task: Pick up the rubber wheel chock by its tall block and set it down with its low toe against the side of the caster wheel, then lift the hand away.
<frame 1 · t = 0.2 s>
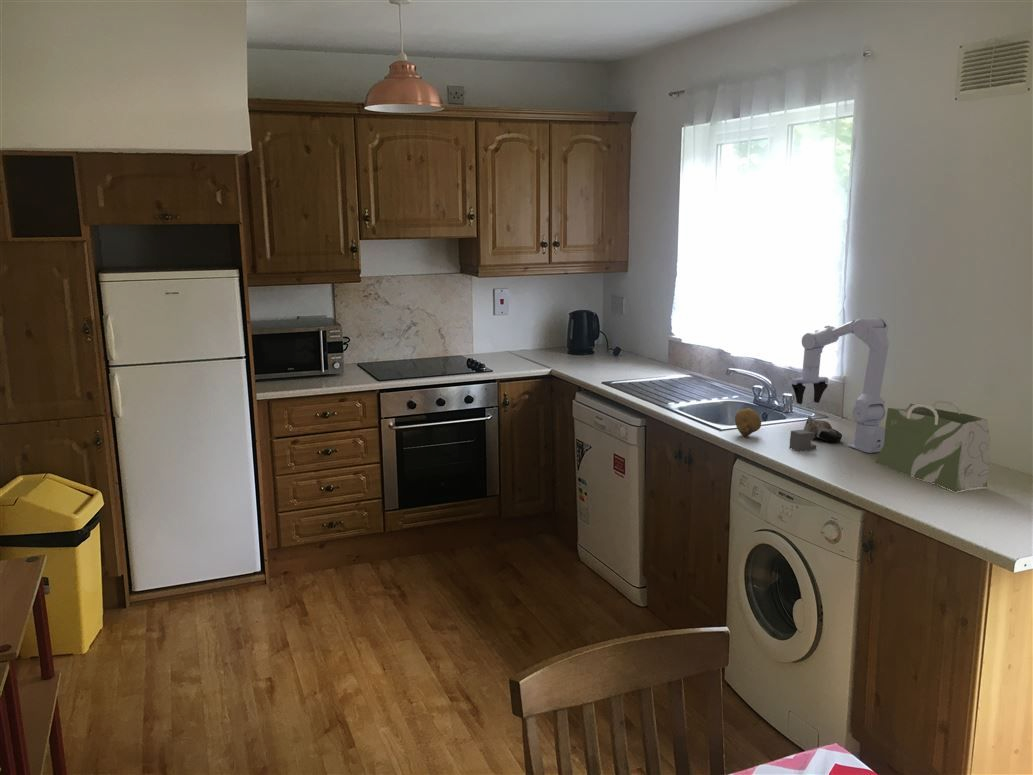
hand: (807, 402, 316), 10 cm above the counter, tool pointing down, fingers open, 7 cm apart
natural sponge: (746, 436, 307), on the counter
wheel chock: (802, 448, 292), on the counter
grocery bag: (928, 475, 265), on the counter
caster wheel: (823, 440, 305), on the counter
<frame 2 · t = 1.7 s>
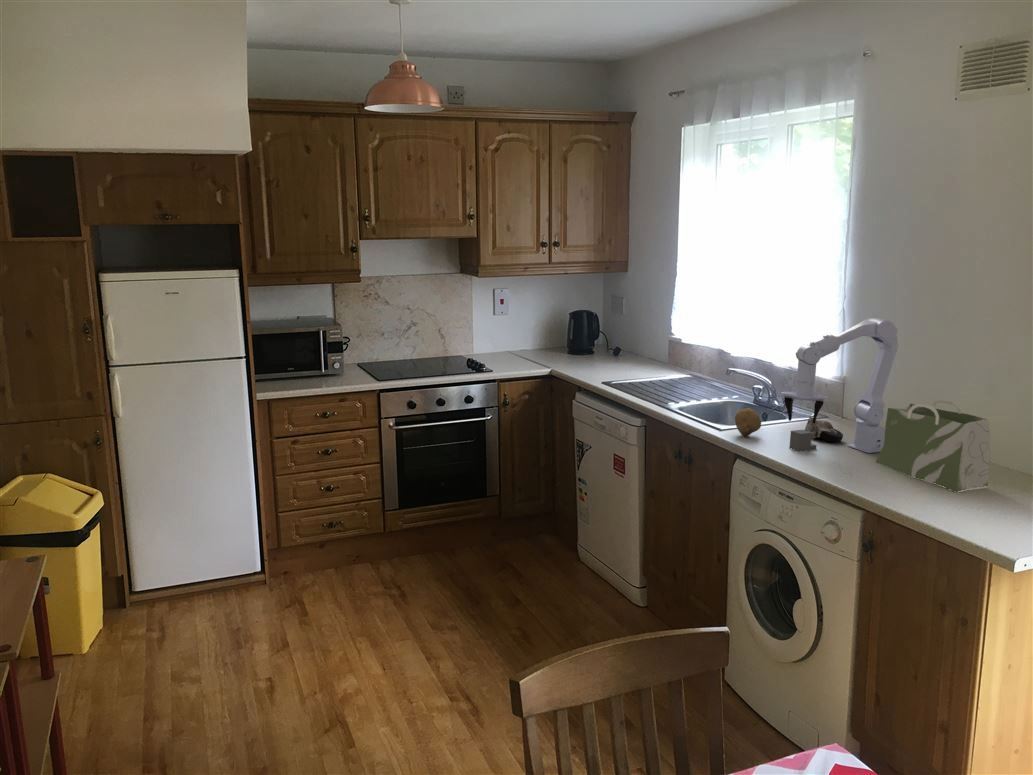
hand: (801, 421, 290), 9 cm above the counter, tool pointing down, fingers open, 7 cm apart
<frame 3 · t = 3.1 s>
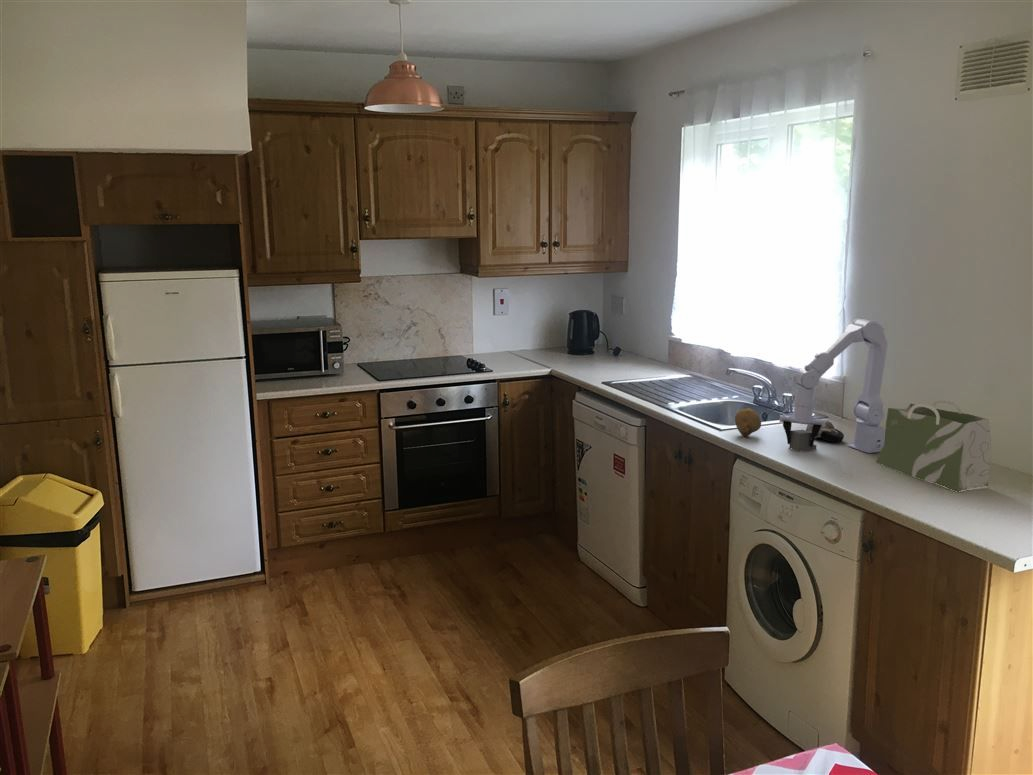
hand: (800, 444, 291), 1 cm above the counter, tool pointing down, fingers closed on wheel chock, 7 cm apart
wheel chock: (802, 448, 292), on the counter, touching gripper
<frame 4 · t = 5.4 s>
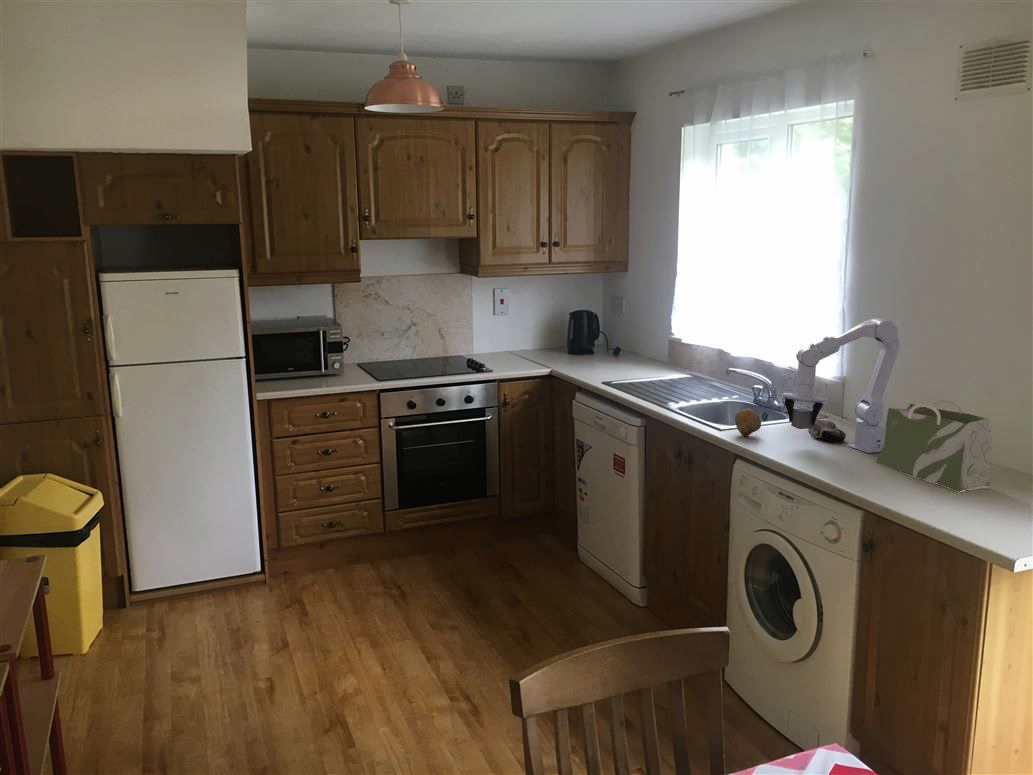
hand: (801, 422, 292), 8 cm above the counter, tool pointing down, fingers closed on wheel chock, 7 cm apart
wheel chock: (804, 426, 293), point 7 cm above the counter, touching gripper
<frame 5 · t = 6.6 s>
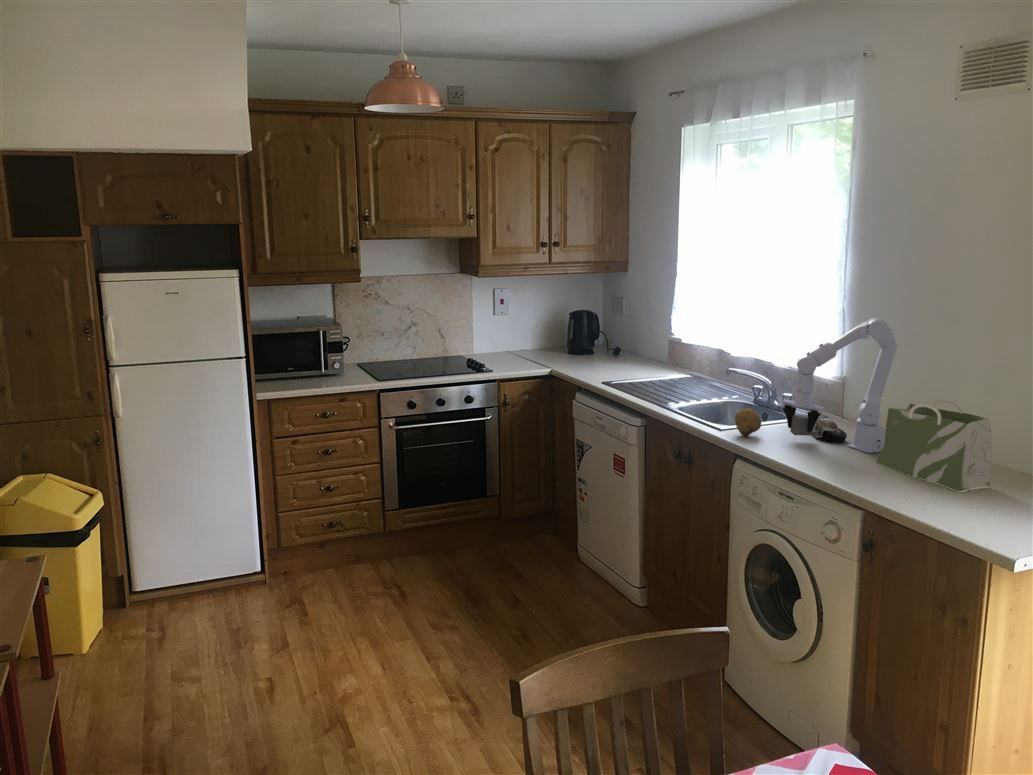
hand: (800, 429, 299), 4 cm above the counter, tool pointing down, fingers closed on wheel chock, 7 cm apart
wheel chock: (802, 433, 299), point 3 cm above the counter, touching gripper
when the fingers open (2 cm above the counter, at t = 7.7 s): wheel chock stays where it is, on the counter.
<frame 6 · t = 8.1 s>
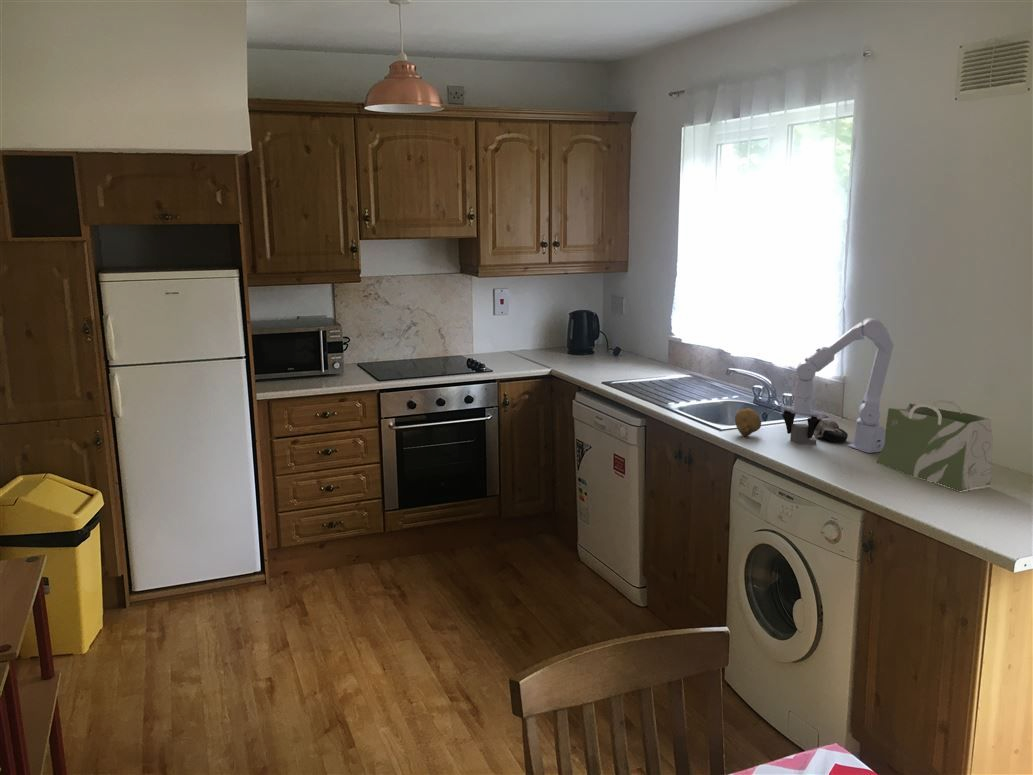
hand: (799, 435, 299), 2 cm above the counter, tool pointing down, fingers open, 7 cm apart
wheel chock: (802, 442, 300), on the counter, touching gripper
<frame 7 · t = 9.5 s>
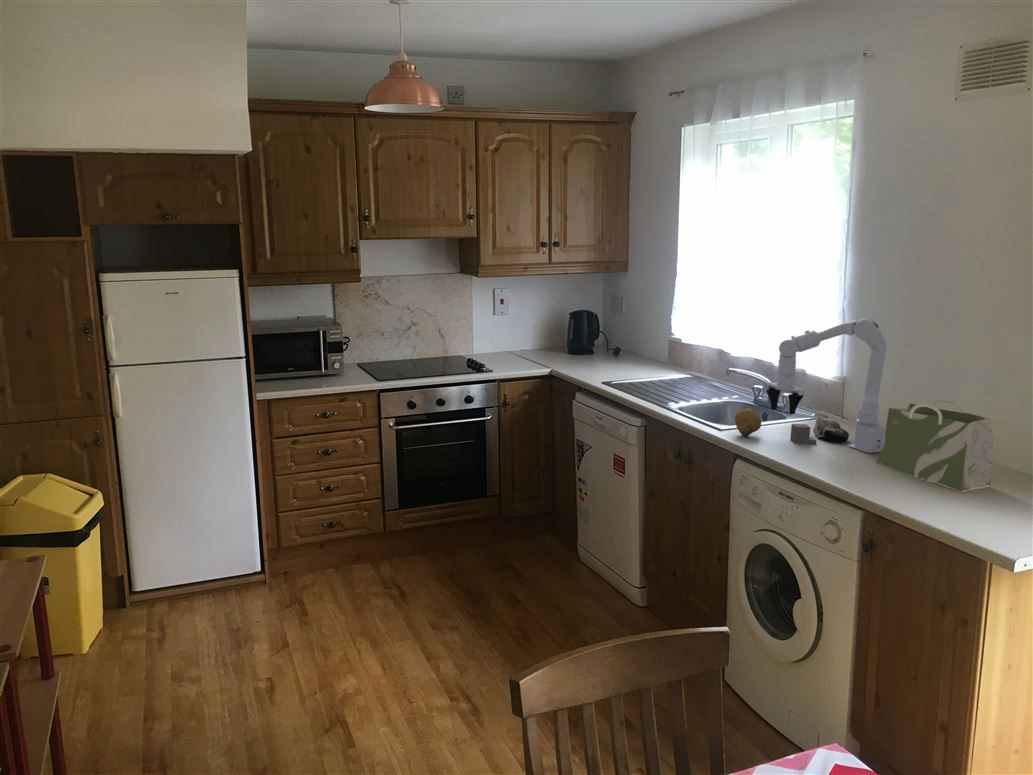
hand: (783, 411, 303), 9 cm above the counter, tool pointing down, fingers open, 7 cm apart
wheel chock: (802, 442, 300), on the counter
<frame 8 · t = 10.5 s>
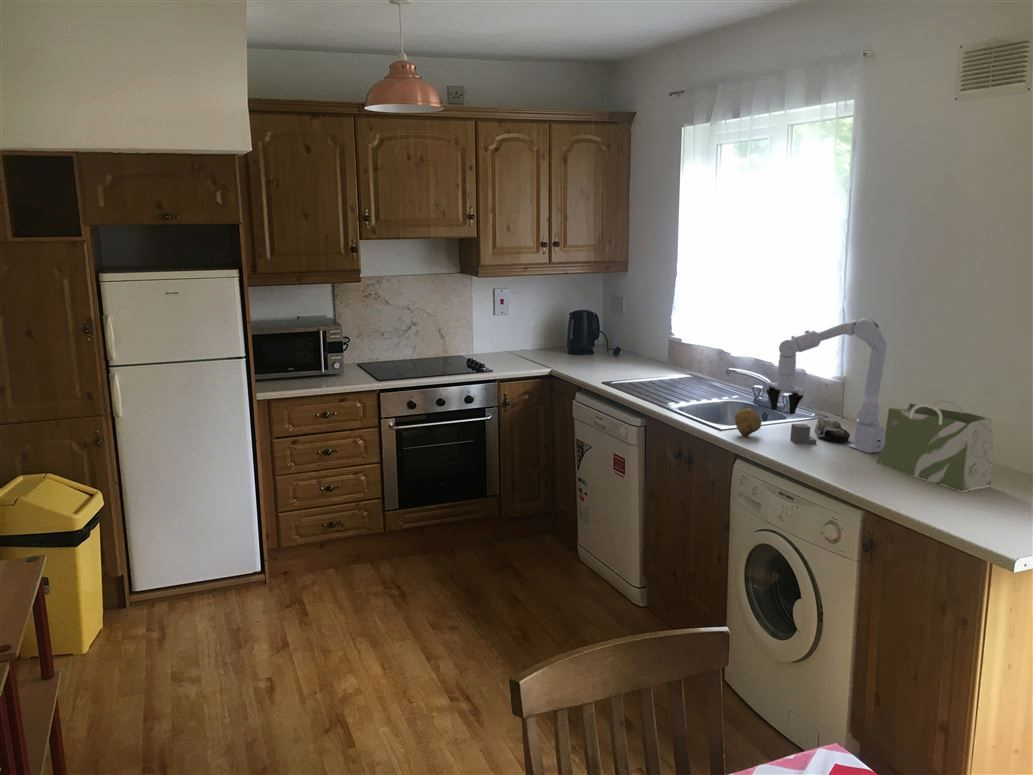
hand: (783, 411, 303), 9 cm above the counter, tool pointing down, fingers open, 7 cm apart
at the end: wheel chock inside the target area on the counter beside the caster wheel (3.5 cm from its centre), on the counter; wheel chock tilted 0°; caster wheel moved 3.7 cm from its start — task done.
